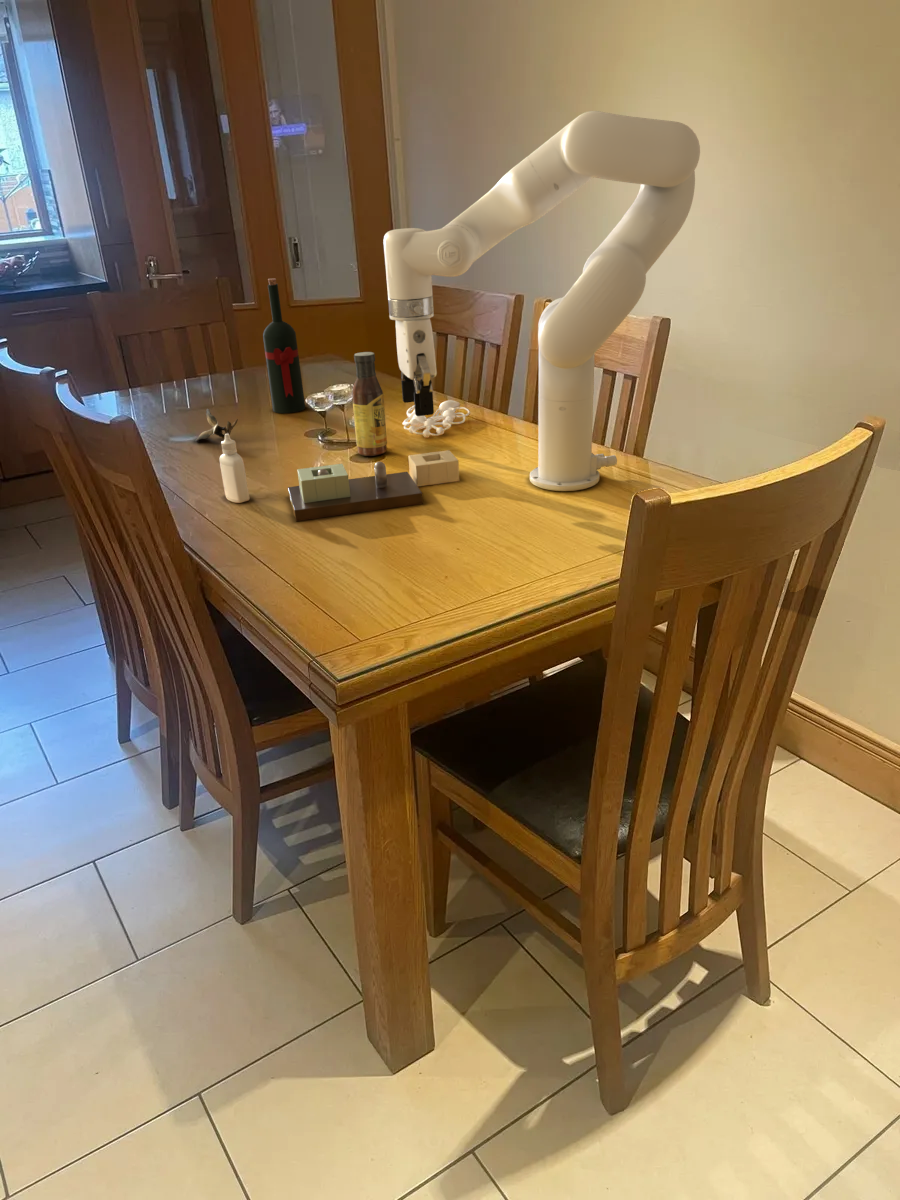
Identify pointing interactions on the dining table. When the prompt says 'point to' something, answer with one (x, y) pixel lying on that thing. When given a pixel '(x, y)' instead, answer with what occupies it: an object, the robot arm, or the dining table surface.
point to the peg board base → (361, 495)
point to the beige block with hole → (433, 468)
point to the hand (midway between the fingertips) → (418, 408)
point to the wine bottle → (282, 359)
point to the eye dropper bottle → (233, 472)
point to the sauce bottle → (368, 407)
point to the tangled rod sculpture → (435, 419)
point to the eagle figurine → (215, 427)
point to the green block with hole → (323, 483)
